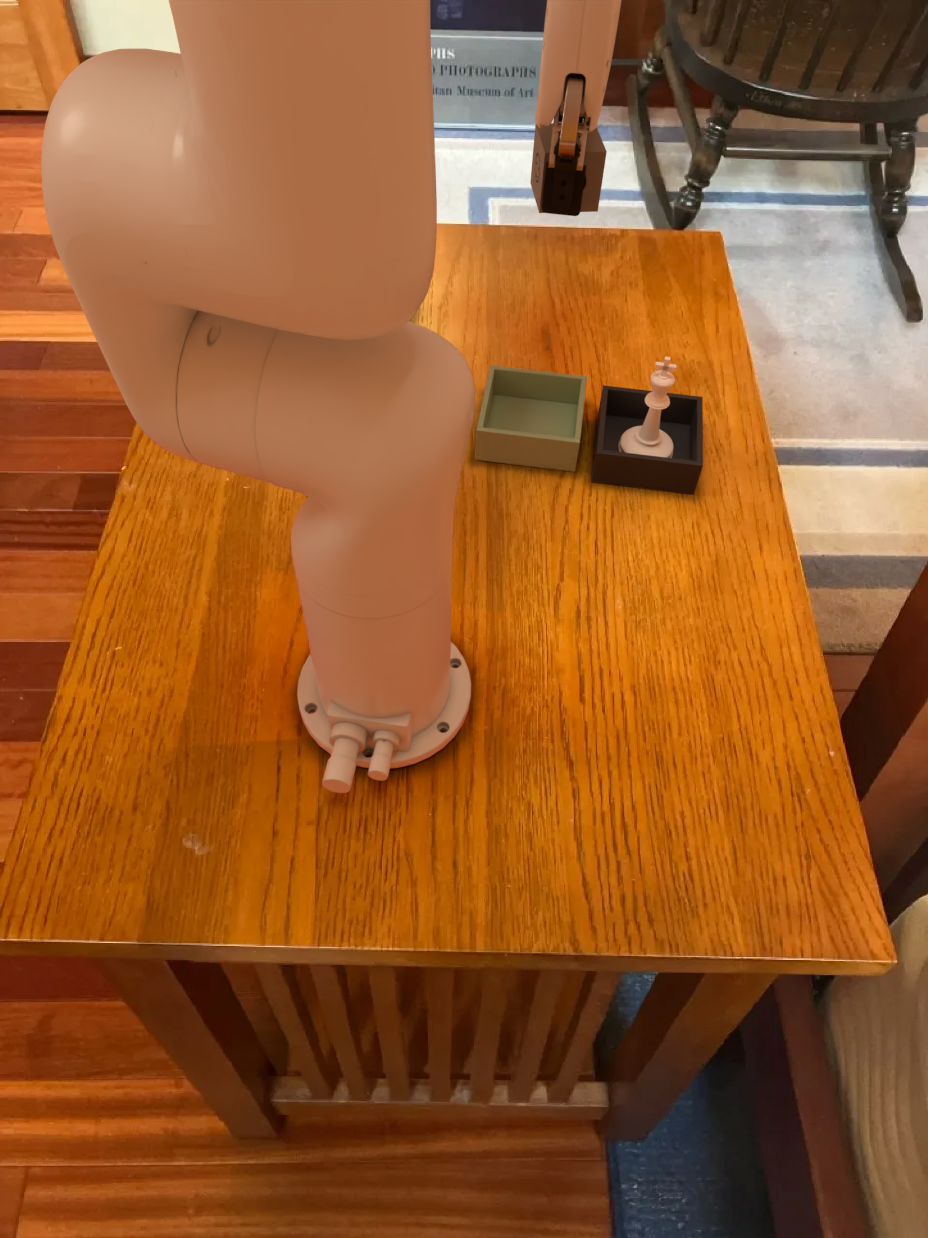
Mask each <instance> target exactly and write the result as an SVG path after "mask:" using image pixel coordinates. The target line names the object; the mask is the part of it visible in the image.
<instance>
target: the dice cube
mask: <svg viewBox="0 0 928 1238" xmlns="http://www.w3.org/2000/svg"><path fill="white" fill-rule="evenodd" d="M578 125H584V123H578ZM534 126H535V127H534V135H533V137H534V138H533V148H532V160H531V170H530V171H531V172H530V181H529V183H530V187H531V191H532V193H533V197H534V200H535V204H536V207H537V210H538V213H539V214H545V213H544V212H543V211H542V199H543V189H544V179H545V169H546V162H549V156H550V147H551V139H552V126H553V122H551V124H550V126H544V125H543V127H542V128H539V127H538V126H537V124H536V123H535V125H534ZM560 134H561V132H559V139H558V142H560ZM580 136H581V134H577V138H576V143H578V144H580ZM606 159H607V149H606V146H605V144H604V142H603V139H602V137H601V134H600V132H599V129H598V126H597V127H596V128H595V129H594V130H593V131H591V132H590V133H589V131H588V134H587V141H586V148H585V156H584V164H583V165H585V166H586V172H585V180H584V187H583V195H582V202H581V210H580V213H593V212H594V213H595V212H598V211H599V207H600V199H601V192H602V186H603V179H604V173H605V172H604V171H605V165H606Z"/></svg>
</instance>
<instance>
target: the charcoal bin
mask: <svg viewBox="0 0 928 1238" xmlns="http://www.w3.org/2000/svg"><path fill="white" fill-rule="evenodd" d="M650 392H652V390H647V389H638V388H630V387H622V386H613V385H602V389H601V394H600V399H599V400H600V401H599V405H598V412H597V418H596V430H595V439H594V447H593V448H594V450H593V459H592V460H593V461H592V468H591V469H592V470H591V481H590V482H591V483H596V484H603V485H604V484H605V485H613V486H620V487H629V488H637V489H645V490H653V491H660V492H661V491H662V492H671V493H676V494H686V495H695V493H696V489H697V485H698V483H699V480H700V476H701V473H702V469H703V467H704V434H703V431H704V427H703V426H704V423H703V421H704V418H703V417H704V416H703V415H704V414H703V413H704V412H703V411H704V410H703V408H704V407H703V405H704V404H703V403H704V402H703V401H704V397H703V396H700V395H699V396H698V395H691V394H682V393H674V392H668V393H667V394H666V395H667V396H668V397H669V400H670V404H669V406H668V407H667V408H665V409H662V410H661V415H660V426H659V429H660V430H662V431H664V432H665V433H666V434H667V435H668V436H669V437H670V438H671V440H672V442H673V456H672V458H666V457H658V456H650V455H641V454H633V453H625V452H619V449H618V444H619V441H620V439H621V436H622V435H623V433H624V432H625V431H626V430H628V429H630V428H632V427H636V426H643V423H644V421H645V418H646V416H647V413H648V411H649V408H650V407H649V406H647V405H646V403H645V397H646V396H647V394H648V393H650Z"/></svg>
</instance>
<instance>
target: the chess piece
mask: <svg viewBox="0 0 928 1238" xmlns="http://www.w3.org/2000/svg"><path fill="white" fill-rule="evenodd" d="M654 370H655V371H654V372H653V373H652V374H651V375H650V384H651V391H652V392H650V393H648V394H647V396H646V397H645V403H646V405H647V406H649V407H650V408H649V411H648V413H647V416H646V418H645V421H644V423H643V426H636V427H632V428H630V429H628V430H626V431H625V432H624V433H623V435H622V436H621V439H620V441H619V444H618V449H619V452H625V453H633V454H641V455H650V456H658V457H666V458H672V456H673V442H672V440H671V438H670V437H669V436H668V435H667V434H666V433H665V432H664V431H662V430H660V429H659V426H660V415H661V410H662V409H665V408H667V407H668V406H669V404H670V400H669V397H668V396H667V395H666V394H667V393H669V391H670V389H671V388H672V387H673V385H674V384H675V382H676V378H675V376H674V374H673V373H676V371H677V363H671V356H665V357H664V359H663V361H655V365H654Z"/></svg>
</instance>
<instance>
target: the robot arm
mask: <svg viewBox="0 0 928 1238" xmlns="http://www.w3.org/2000/svg"><path fill="white" fill-rule="evenodd" d="M622 1H623V0H546V8H545V16H544V25H543V34H542V35H543V36H542V37H543V38H542V47H541V56H540V69H539V78H538V89H537V99H536V106H535V107H536V108H535V116H534V117H535V118H534V122H535V124H537V126H538V127H539V128H542V127H543V125H544V126H550V124H551V123H553V126H552V139H551V147H550V156H549V162H546V169H545V179H544V189H543V199H542V211H543V212H544V213H543V214H550V215H551V214H552V215H561V216H568V217H571V216H572V217H577V216H579V215H580V213H581V212H580V210H581V202H582V195H583V187H584V180H585V172H586V166H585V165H583V164H584V156H585V148H586V141H587V134H588V131H589V133H590V132H591V131H593V130H594V129H595V128H596V127H597V128H598V123H599V118H600V115H601V111H602V108H603V103H604V102H603V101H604V100H605V99H604V98H605V94H606V90H607V85H608V80H609V75H610V72H611V66H612V60H613V55H614V51H615V50H614V49H615V44H616V38H617V34H618V33H617V32H618V26H619V20H620V13H621V7H622ZM168 4H169V8H170V11H171V15H172V20H173V25H174V30H175V33H176V38H177V42H178V47H179V48H178V49H179V51H180V52H174V51H166V50H159V49H152V48H117V49H112V50H108V51H103V52H101V53H98V54H95V55H93V56H91V57H90V58H87V59H86V60H84V61H82V62H81V63H80V64H79V65H77V66H76V67H75V68H74V69H73V70H72V71H71V72H70V73H68V75H67V76H66V77H65V78H64V80H62V83H61V85H60V86H59V87H58V90H57V91H56V93H55V95H54V96H53V98H52V101H51V104H50V106H49V109H48V113H47V116H46V120H45V124H44V128H43V135H42V143H41V153H40V155H41V157H40V165H41V167H40V168H41V169H40V170H41V190H42V198H43V205H44V211H45V215H46V221H47V226H48V228H49V231H50V234H51V238H52V241H53V245H54V247H55V250H56V252H57V254H58V258H59V260H60V262H61V264H62V267H63V269H64V272H65V275H66V276H67V279H68V281H69V284H70V286H71V288H72V290H73V292H74V294H75V296H76V299H77V301H78V304H79V305H80V307H81V310H82V312H83V315H84V316H85V319H86V321H87V322H88V325H89V328H90V330H91V331H92V334H93V337H94V338H95V341H96V343H97V345H98V348H99V349H100V351H101V354H102V356H103V358H104V360H105V362H106V365H107V367H108V369H109V371H110V374H111V376H112V378H113V379H114V382H115V384H116V386H117V388H118V391H119V392H120V394H121V396H122V399H123V401H124V403H125V404H126V407H127V409H128V411H129V412H130V414H131V416H132V417H133V419H134V421H135V422H136V424H137V425H138V426H139V428H140V429H141V431H142V432H143V433H144V434H145V435H146V436H147V437H148V439H150V440H151V441H152V442H153V443H154V444H156V446H158V447H159V448H161V449H163V450H165V451H166V452H168V453H170V454H172V455H174V456H177V457H179V458H182V459H185V460H188V461H191V462H194V463H198V464H201V465H204V466H208V467H211V468H215V469H218V470H221V471H226V472H229V473H233V474H236V475H240V476H244V477H248V478H251V479H255V480H258V481H262V482H265V483H269V484H272V485H273V486H275V487H279V488H282V489H285V490H289V491H293V492H296V493H299V494H302V495H305V496H307V497H306V499H305V500H304V501H303V502H302V504H301V506H300V508H299V510H298V512H297V514H296V516H295V519H294V521H293V524H292V528H291V534H290V554H291V559H292V566H293V570H294V574H295V578H296V584H297V588H298V593H299V599H300V604H301V610H302V615H303V619H304V624H305V625H304V626H305V629H306V635H307V640H308V646H309V651H310V653H309V655H308V656H307V658H306V660H305V662H304V664H303V665H302V667H301V671H300V674H299V676H298V680H297V691H296V696H297V703H298V709H299V713H300V716H301V720H302V723H303V724H304V726H305V728H306V730H307V732H308V735H310V737H311V738H312V739H313V741H315V743H316V744H317V745H318V746H319V747H320V748H322V749H323V750H324V751H326V753H328V754H329V755H330V757H329V758H328V759H327V763H326V767H325V770H324V773H323V777H322V781H321V784H322V786H323V788H324V789H325V790H327V791H329V792H332V793H337V794H346V793H349V792H351V788H352V785H353V781H354V777H355V773H356V768H357V767H360V768H365V769H368V770H367V776H368V777H369V778H370V779H372V780H375V781H379V782H380V781H382V782H385V781H386V780H388V779H389V774H390V770H391V769H398V768H402V767H407V766H412V765H414V764H415V765H416V764H417V763H420V762H421V761H424V760H426V759H429V758H431V757H432V756H433V755H435V754H437V753H438V752H440V751H441V750H443V749H444V748H446V746H447V745H448V744H449V743H450V742H452V740H453V739H454V738H455V737H456V736H457V734H458V732H459V731H460V730H461V728H462V727H463V725H464V723H465V721H466V719H467V716H468V714H469V711H470V705H471V699H472V680H471V674H470V669H469V667H468V664H467V662H466V660H465V657H464V656H463V654H462V653H461V651H460V650H459V649H458V647H457V645H456V644H455V643H453V642H452V603H453V602H452V599H453V595H452V594H453V550H454V549H453V547H454V526H455V525H454V522H455V512H456V502H457V494H458V490H459V482H460V479H461V474H462V471H463V466H464V463H465V462H464V461H465V458H466V454H467V449H468V445H469V441H470V437H471V432H472V428H473V422H474V417H475V416H474V415H475V408H476V387H475V386H476V385H475V380H474V376H473V372H472V369H471V367H470V365H469V363H468V361H467V359H466V358H465V356H464V355H463V353H462V352H461V351H460V350H459V349H458V348H457V347H456V346H455V345H454V344H453V343H452V342H451V341H449V340H448V339H446V338H445V337H444V336H442V335H441V334H439V333H437V332H436V331H434V330H432V329H430V328H428V327H426V326H423V325H422V324H419V323H416V322H414V321H411V320H412V318H413V317H414V316H415V315H416V314H417V312H418V311H419V309H420V308H421V306H422V304H423V303H424V301H425V299H426V297H427V295H428V292H429V290H430V285H431V282H432V279H433V275H434V271H435V263H436V261H435V260H436V250H437V232H438V230H437V229H438V222H437V221H438V200H437V172H436V171H437V169H436V144H435V143H436V141H435V139H436V137H435V116H434V115H435V114H434V111H435V110H434V87H433V65H432V40H431V39H432V37H431V36H432V35H431V0H168ZM578 123H584V125H578ZM559 132H561V134H560V142H558V139H559ZM577 134H581V136H580V144H578V143H576V138H577Z"/></svg>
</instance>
